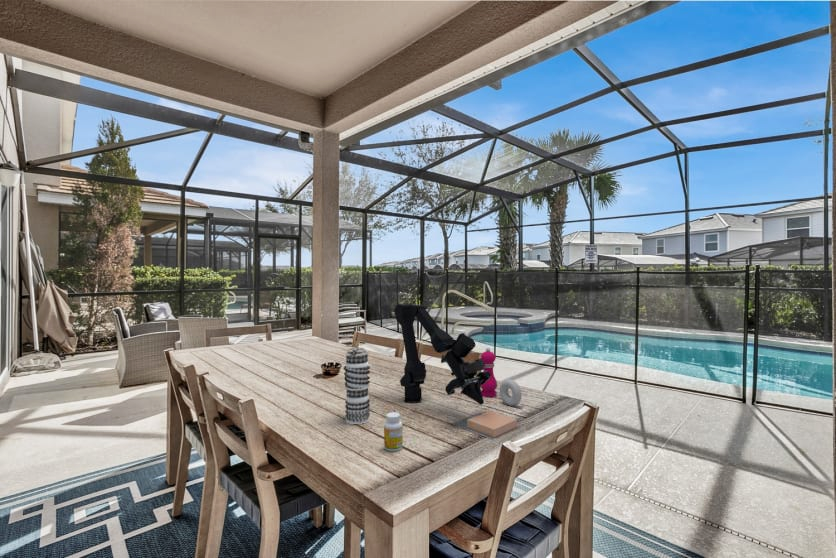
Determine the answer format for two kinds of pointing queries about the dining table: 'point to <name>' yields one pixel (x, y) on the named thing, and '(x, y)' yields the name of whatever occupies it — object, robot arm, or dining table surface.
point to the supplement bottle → (393, 432)
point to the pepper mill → (491, 383)
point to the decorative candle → (357, 386)
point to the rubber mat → (464, 425)
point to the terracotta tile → (492, 423)
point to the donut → (515, 392)
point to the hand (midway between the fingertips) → (482, 403)
